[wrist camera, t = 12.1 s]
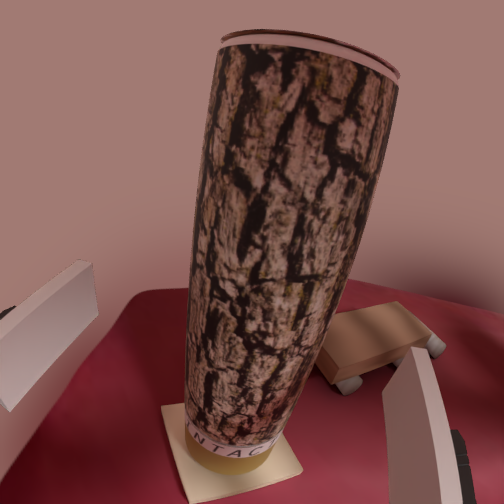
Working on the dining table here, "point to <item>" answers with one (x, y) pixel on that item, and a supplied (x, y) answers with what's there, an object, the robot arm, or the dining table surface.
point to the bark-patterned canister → (275, 229)
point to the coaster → (218, 485)
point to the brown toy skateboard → (371, 343)
